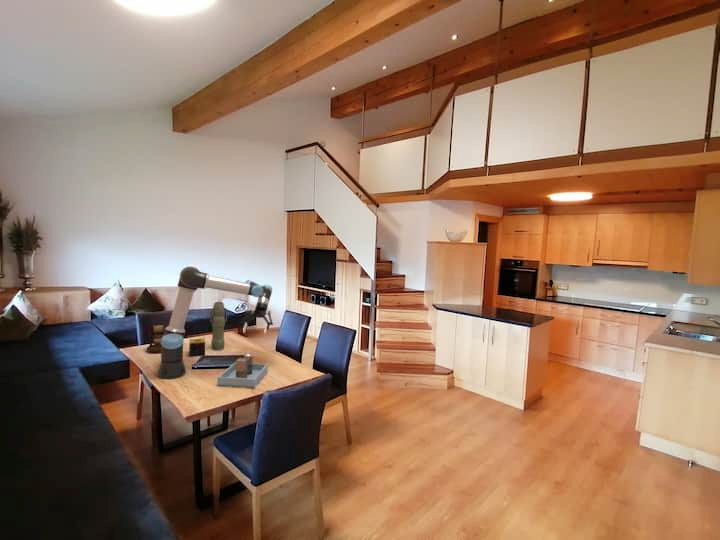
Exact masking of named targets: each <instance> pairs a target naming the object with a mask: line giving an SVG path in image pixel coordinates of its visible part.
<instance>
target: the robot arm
mask: <svg viewBox="0 0 720 540" xmlns="http://www.w3.org/2000/svg"><path fill="white" fill-rule="evenodd" d="M177 287H178V292H177V296H176V300H175V304H174V307H173V311H172V312H171V317H170V320H169V325H167V326H168V327H166V328H165V330H164V331H163V332H164V334H163V337H162V339H161V352H160V364H159V367H158V369H157V377H158V378H159V379H162V380H163V379H164V380H169V379H170V380H171V379H178V378H181V377H183V376H185V375H186V373H187V369H186V368H187V367H186V365H185V363H184V338H185V334H186V330H185V324H186V322H187V321H186V320H187V317H188V314H189V309H190V306H191V303H192V299H193V297H194V293H195V292H196V291H198V289H203V290H204V289H213V290H217V291H218V290H219V291H225V292H229V293H230V292H231V293H235V294H240V295H241V294H242V295H246V296H247V295H248V296H253V297H254V298H258V299H257V301H256V306H255V309H254V310H252V309H250V310H249V311H248V313H247V314H246V315H244V316H243V318H242V319H241V323H242V332H243V334H245V333H246V332H247V331H246V330H247V327H248V323H250V322H251V321H253V320H254V319H258V318H260V319H262V318H263V320H264V321H265V322H266V323H265V327H264V330H263V334H264V335H267V331H268V330H270V326H273V325H274V324H273V319H272V317H271V315H272V314H271V311H270V310H268V307H269V303H270V300H271V297H272V293H273V288H272V286H271V285H270V284H264V285H260V284H259V283H256V282H254V281H252V280H250V279H246V281H245V282H244V281H239V280H235V279H234V280H233V279H228V278H223V277H218V276H214V275H209V273H206V272H203V271H200V269H198V268H197V267H195V266H186V267H184V268H182V270H181V271H180V274H179V279H178V283H177ZM267 310H268V311H267ZM266 315H267V316H268V319H269V320H268V319H267V317H266Z"/></svg>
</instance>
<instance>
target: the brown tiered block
mask: <svg viewBox="0 0 720 540" xmlns="http://www.w3.org/2000/svg"><path fill="white" fill-rule="evenodd" d="M154 324H155V323H152V326H149V328H148V329H149V333H148V334H149V340H148V341H149V345H148V346H146V349H145V350H146V351H147V352H149V353H150V354H153V353H161V339H162V337H163V335H164V332H165V328H166V327H168V326H169V325H166V323H165V322H163V324H161V325H154Z"/></svg>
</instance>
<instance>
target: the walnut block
mask: <svg viewBox="0 0 720 540" xmlns="http://www.w3.org/2000/svg"><path fill="white" fill-rule="evenodd" d="M235 362H236V378H246V379H247V364H248V358H243V357H238V359H236V360H235Z"/></svg>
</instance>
